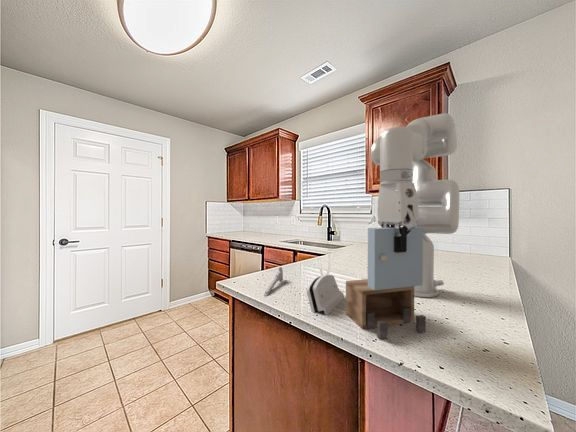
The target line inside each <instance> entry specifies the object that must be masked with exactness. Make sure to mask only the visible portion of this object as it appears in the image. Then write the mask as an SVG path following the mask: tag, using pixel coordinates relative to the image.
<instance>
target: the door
mask: <svg viewBox="0 0 576 432" xmlns="http://www.w3.org/2000/svg"><path fill="white" fill-rule="evenodd" d="M402 227H403V226H401V228H402ZM394 236H396V226H395V227H391V226H390V227H386V228H382V227H367V279H368V287H370V288H371V289H373V290H382V289H392V288H401V287H411V286H420V285H422V272H423V227H415V228H414V229H412V230H411V231H410V232H409V235H408V236H407V251H406V252H400V253H396V252H394Z"/></svg>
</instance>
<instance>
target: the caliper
mask: <svg viewBox="0 0 576 432" xmlns="http://www.w3.org/2000/svg"><path fill="white" fill-rule="evenodd" d="M283 280H284V272H283V268H282V266H279V268H278V271H277V272H276V274H275V277H274V278H273V280H272V281H271V283H270V284H269V285H268V287H267V288H266V290H265V292H264V293H263V294H264V295H263V296H264V297H267V296H268V295H270V293H271V291H272V290H273V288H274V286H275V285H276V283H277V282H282V281H283Z"/></svg>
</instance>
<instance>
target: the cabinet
mask: <svg viewBox="0 0 576 432" xmlns="http://www.w3.org/2000/svg"><path fill="white" fill-rule="evenodd" d="M345 315H346V316H347V317H348V318H350V320H351V321H353V322H354V323H355V324H356V325H357V326H358V327H360V329H362V330H365V329H366V330H369V329H374V328H377V329H376V330H377V331H376V332H377V333H376V335H377V336H376V338H377V339H379V340H386V339H388V326H393V325H401V324H409V323H414V322H415V332H417V333H418V334H421V333H426V322H427V321H426V320H427V319H426V316H425V315H424V314H418V315H415V296H414V286H411V287H401V288H392V289H382V290H373V289H371V288H370V287H368V278H365V279H364V278H363V279H354V280H353V279H351V280H346V281H345Z"/></svg>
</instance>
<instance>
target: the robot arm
mask: <svg viewBox="0 0 576 432" xmlns="http://www.w3.org/2000/svg"><path fill="white" fill-rule="evenodd" d="M457 146H458V139H457V128H456V124H455V120H454V119H453V116H452V115H450V114H449V113H445V112H443V113H439V114H433V115H429V116H424V117H419V118H416V119H414V120H412V121H410V122H408V124H407V125H406V126H395V127H390V128H387V129H385V130H384V131H383V132H381V133H380V136H379V137H378V138H377V139H375V140H374V141H373V143H372V145H371V148H370V159H371V161H372V163H374V164H375V165H377V166H379V188H378V189H379V190H378V198H377V223H378V225H379V226H380V228H386V227H396V236H394V252H396V253H400V252H406V251H407V236H408V235H409V232H410V231H411V230H412V229H414V228H415V227H423V272H422V285H420V286H414V297H419V298H435V297H438V295H439V290H438V288H437V287H438V286H440V287H441V286H444V284H445V283H444V280H443V279H441V280H440V279H438V280H436V279H434V273H435V271H434V267H435V266H434V261H435V258H434V256H435V246H434V242H432V240H431V238H430V237H428V235H427V234H436V235H437V234H441V235H450V234H451V235H452V234H454V233H456V232H457V231H458V229H459V223H460V222H459V221H460V188H459V187H460V186H459V184H458V183H457V182H456V180H453V179H436V178H437V171H436V168H435V167H434V166H433V165H432V164H431V163H430V162H428V161H426V160H425V159H428V158H429V159H431V158H437V157H438V158H439V157H446V156H451V155H453V154H454V153H455V152H456V150H457ZM401 227H402V228H401Z"/></svg>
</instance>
